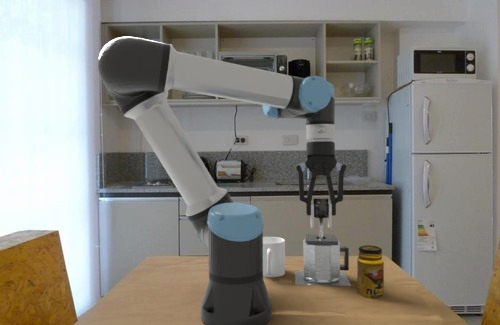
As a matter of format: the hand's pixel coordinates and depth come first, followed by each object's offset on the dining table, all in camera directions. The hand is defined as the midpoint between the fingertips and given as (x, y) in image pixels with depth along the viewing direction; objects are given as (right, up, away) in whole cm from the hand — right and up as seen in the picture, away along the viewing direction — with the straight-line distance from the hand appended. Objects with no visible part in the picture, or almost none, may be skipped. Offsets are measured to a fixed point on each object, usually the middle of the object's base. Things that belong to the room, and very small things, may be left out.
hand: (321, 227), depth 100 cm
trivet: (0, -15, 0) cm, 15 cm away
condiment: (+9, -15, -11) cm, 20 cm away
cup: (-14, -15, +4) cm, 20 cm away
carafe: (+1, -14, 0) cm, 14 cm away
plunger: (0, -11, 0) cm, 11 cm away
